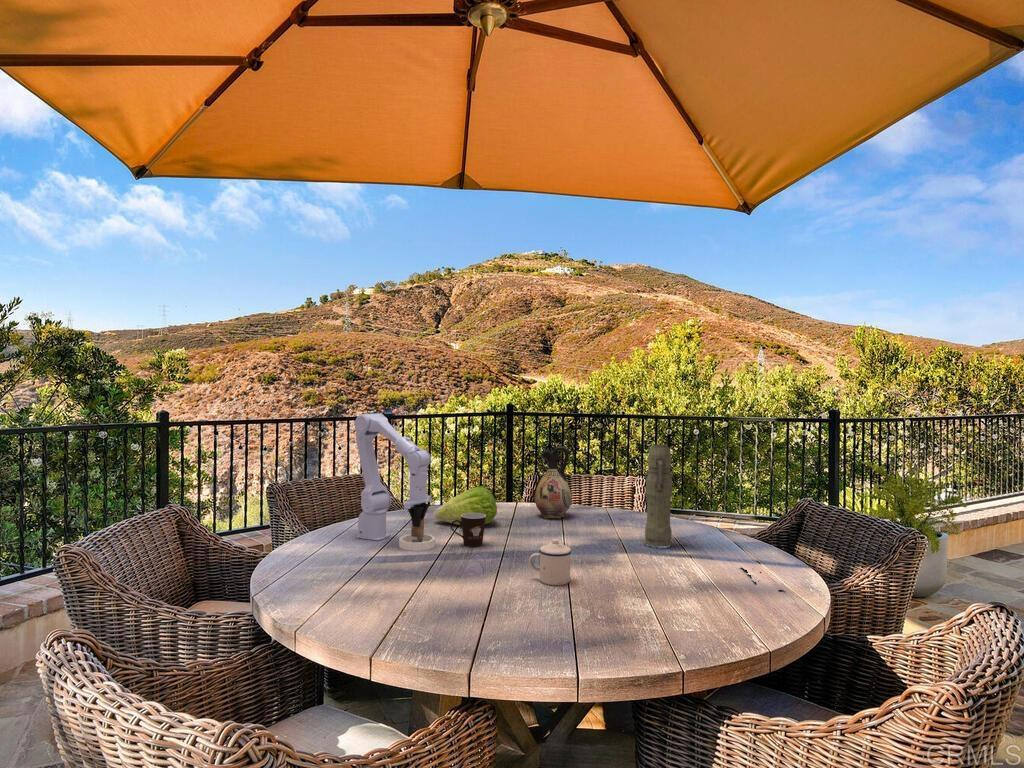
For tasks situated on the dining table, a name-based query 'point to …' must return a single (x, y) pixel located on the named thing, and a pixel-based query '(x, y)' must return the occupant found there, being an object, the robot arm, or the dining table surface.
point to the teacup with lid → (553, 563)
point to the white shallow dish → (416, 542)
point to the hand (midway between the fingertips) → (417, 526)
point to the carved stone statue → (658, 496)
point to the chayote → (468, 505)
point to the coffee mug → (472, 529)
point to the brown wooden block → (418, 530)
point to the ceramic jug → (553, 486)
